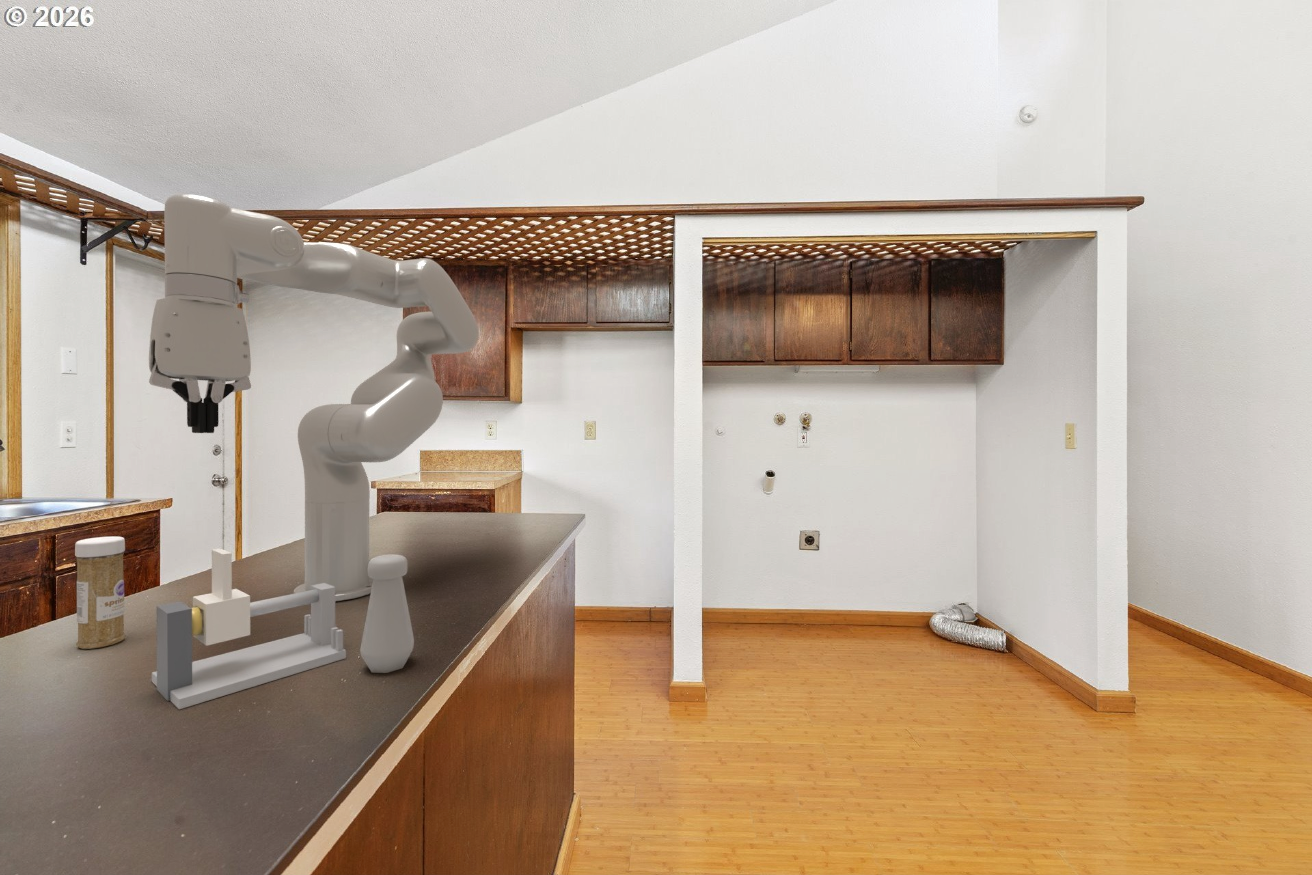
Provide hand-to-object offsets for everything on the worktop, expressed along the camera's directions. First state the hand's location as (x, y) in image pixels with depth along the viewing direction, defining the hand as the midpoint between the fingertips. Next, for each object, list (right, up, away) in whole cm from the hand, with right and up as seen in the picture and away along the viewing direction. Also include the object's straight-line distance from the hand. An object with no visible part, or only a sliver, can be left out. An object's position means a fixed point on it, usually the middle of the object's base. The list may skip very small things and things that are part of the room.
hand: (203, 432), depth 76 cm
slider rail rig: (+14, -27, -10) cm, 32 cm away
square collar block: (+12, -23, -13) cm, 29 cm away
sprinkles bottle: (-11, -27, -3) cm, 29 cm away
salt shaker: (+29, -28, -9) cm, 41 cm away
